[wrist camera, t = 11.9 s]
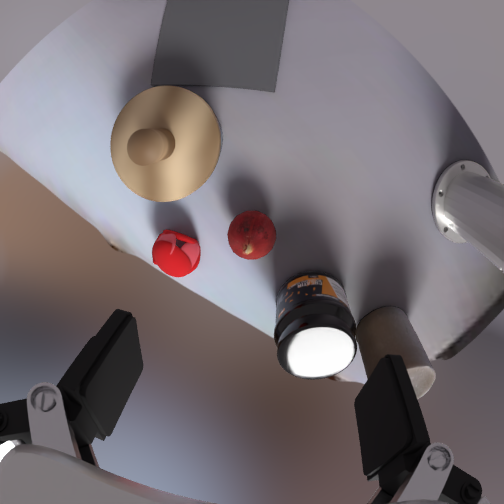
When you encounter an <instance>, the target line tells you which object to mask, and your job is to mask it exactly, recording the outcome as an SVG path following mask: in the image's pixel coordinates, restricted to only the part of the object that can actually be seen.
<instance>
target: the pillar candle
mask: <svg viewBox="0 0 504 504" xmlns="http://www.w3.org/2000/svg"><path fill="white" fill-rule="evenodd" d="M355 335H356V340H357V342H358V344H359V349H360V352H361V356H362V360H363V363H364V367H365V371H366V375H367V378H368V379H369V377H370V375H371V374H372V372H373V370H374V369H375V367H376V366H377V364H378V362H379V360H380V359H381V358H384V357H385V355H387V354H392V355H401V356H402V358H403V361H404V364H405V366H406V369H407V371H408V374H409V377H410V380H411V382H412V385H413V388H414V391H415V394H416V397H417V399H418V398H420V397H422V396H423V395H424V394H425V393H426V392H428V390H429V389H430V388H431V386H432V384H433V383H434V379H435V378H436V376H435V371H434V369H433V367H432V365H431V363H430V361H429V359H428V356H427V354H426V352H425V350H424V348H423V346H422V344H421V342H420V340H419V338H418V336H417V334H416V332H415V331H414V329H413V327H412V325H411V323H410V321H409V319H408V318H407V316H406V314H405V313H404V312H403V311H402V310H401V309H400V308H397V307H393V306H387V307H382V308H378V309H376V310H374V311H372V312H371V313H369V314H368V315H367V316H365V317H364V318H363V319H362V320H361V322H360V323H359V324H358V326H357V329H356V334H355Z"/></svg>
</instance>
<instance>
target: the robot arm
mask: <svg viewBox="0 0 504 504" xmlns="http://www.w3.org/2000/svg"><path fill="white" fill-rule="evenodd" d="M432 212H433V218H434V221H435V224H436V226H437V228H438V230H439V231H440V232H441V234H442V235H443V236H445V237H446V238H447V239H448V240H450V241H452V242H455V243H466V242H468V243H469V244H471V245H472V246H473V247H474V248H476V249H477V250H478V251H479V252H480V253H481V254H483V255H484V256H485V257H486V258H487V259H488V260H490V261H491V262H492V263H493V264H494V265H495V266H496V267H497V268H499V269H500V270H501V271H502V272H503V273H504V184H502V183H500V182H497V181H495V180H492V179H491V178H490V176H489V174H488V172H487V171H486V170H485V169H484V168H483V167H482V166H481V165H479V164H478V163H476V162H473V161H469V160H460V161H457V162H454V163H453V164H451V165H450V166H448V167H447V168H446V169H445V170H444V171H443V173H442V174H441V176H440V177H439V179H438V181H437V184H436V186H435V189H434V193H433V199H432ZM142 370H143V360H142V355H141V349H140V344H139V337H138V330H137V324H136V319H135V318H134V317H133V316H132V314H131V313H130V312H127V311H123V310H120V309H116V310H115V311H114V312H113V314H112V315H111V316H110V317H109V319H108V320H107V321H106V323H105V324H104V325H103V327H102V328H101V329H100V330H99V332H98V333H97V335H96V336H94V337H92V338H91V339H90V340H89V341H88V342H87V344H86V345H85V346H84V348H83V349H82V351H81V352H80V353H79V355H78V356H77V357H76V359H75V360H74V362H73V363H72V364H71V366H70V367H69V369H68V370H67V371H66V373H65V374H64V376H63V377H62V378H61V380H60V382H59V383H58V384H57V386H55V385H53V384H51V383H39V384H37V385H35V386H34V387H32V388H31V390H30V391H29V393H28V395H27V399H23V400H17V401H12V402H8V403H2V404H0V504H216V503H211V502H205V501H201V500H196V499H191V498H187V497H183V496H179V495H175V494H171V493H168V492H164V491H161V490H158V489H154V488H151V487H148V486H145V485H142V484H139V483H136V482H134V481H131V480H128V479H126V478H123V477H120V476H117V475H115V474H113V473H110V472H108V471H105V470H103V469H101V468H100V467H99V465H98V462H97V459H96V457H95V454H94V451H93V448H92V445H91V443H92V442H93V440H94V438H95V437H96V438H98V439H101V440H103V441H104V440H105V438H106V436H110V435H111V434H112V432H113V430H114V428H115V425H116V423H117V421H118V419H119V417H120V415H121V413H122V411H123V409H124V407H125V405H126V402H127V400H128V398H129V396H130V394H131V392H132V390H133V388H134V386H135V384H136V382H137V380H138V378H139V376H140V374H141V372H142ZM354 406H355V413H356V419H357V426H358V433H359V440H360V446H361V455H362V464H363V472H364V475H366V476H367V480H368V481H373V480H379V485H380V486H379V488H378V489H377V490H376V492H375V493H374V495H373V496H372V497H371V499H370V500H369V501H368V503H367V504H490V502H489V501H488V500H487V498H486V497H485V496H483V497H481V494H482V488H481V484H480V483H479V481H478V480H477V479H476V478H474V477H472V476H471V475H469V474H467V473H466V472H464V471H462V470H461V469H459V468H458V467H456V466H454V465H453V462H454V457H453V453H452V451H451V450H450V448H449V447H448V446H446V445H445V444H442V443H433V444H431V443H430V438H429V435H428V431H427V428H426V425H425V422H424V418H423V415H422V412H421V409H420V406H419V403H418V400H417V397H416V394H415V391H414V388H413V385H412V382H411V380H410V377H409V374H408V371H407V369H406V366H405V364H404V361H403V358H402V356H401V355H392V354H387V355H385V357H384V358H381V359H380V360H379V362H378V364H377V366H376V367H375V369H374V370H373V372H372V374H371V375H370V377H369V379H368V380H367V382H366V383H365V385H364V386H363V388H362V389H361V391H360V393H359V394H358V396H357V397H356V399H355V404H354Z"/></svg>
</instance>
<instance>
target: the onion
mask: <svg viewBox="0 0 504 504" xmlns="http://www.w3.org/2000/svg"><path fill="white" fill-rule="evenodd" d="M275 240H276V230H275V228H274V225H273V223H272V221H271V220H270V219H269V218H268V217H267V216H266V215H265V214H263V213H261V212H259V211H245V212H243V213H241V214H239V215H237V216H236V217H235V218H234V220H233V221H232V222H231V224H230V226H229V230H228V241H229V245H230V247H231V249H232V250H233V252H234V253H235V254H237V255H238V256H239V257H242V258H245V259H258V258H261V257H264V256H265V255H266V254H267V253H268V252H270V251H271V250H272V248H273V246H274V243H275Z"/></svg>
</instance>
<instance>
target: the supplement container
mask: <svg viewBox="0 0 504 504" xmlns="http://www.w3.org/2000/svg"><path fill="white" fill-rule="evenodd" d="M355 334H356V324H355V320H354V318H353V316H352V314H351V311H350V307H349V304H348V301H347V297H346V293H345V290H344V288H343V286H342V285H341V283H340V282H339V281H338V280H337V279H336V278H334V277H333V276H331V275H329V274H327V273H324V272H319V271H308V272H303V273H300V274H297V275H295V276H293V277H292V278H290V279H289V280H288V281H286V282H285V283H284V285H283V286H282V287H281V289H280V291H279V293H278V295H277V299H276V325H275V329H274V340H275V343H276V346H277V358H278V361H279V363H280V365H281V367H282V368H283V369H284V370H285V371H286V372H288V373H290V374H291V375H293V376H295V377H299V378H303V379H322V378H327V377H330V376H333V375H335V374H337V373H339V372H341V371H342V370H344V369H345V368H346V367H347V366H348V365H349V364H350V363H351V362H352V361H353V359H354V357H355V355H356V351H357V343H356V339H355Z"/></svg>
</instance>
